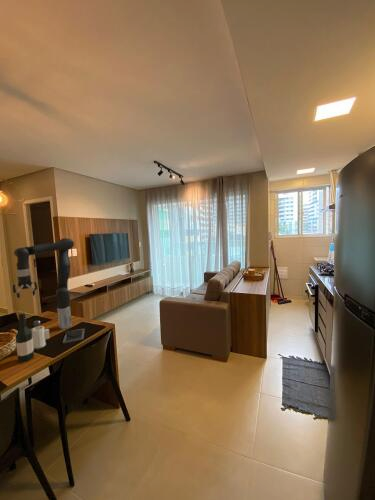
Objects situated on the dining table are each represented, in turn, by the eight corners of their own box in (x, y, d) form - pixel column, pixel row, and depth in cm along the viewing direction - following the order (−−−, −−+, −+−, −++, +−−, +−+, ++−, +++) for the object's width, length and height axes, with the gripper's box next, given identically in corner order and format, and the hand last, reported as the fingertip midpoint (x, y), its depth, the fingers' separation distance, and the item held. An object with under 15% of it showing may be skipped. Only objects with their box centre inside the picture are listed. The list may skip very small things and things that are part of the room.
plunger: (43, 336, 153) (41, 319, 152) (42, 339, 149) (41, 321, 148) (34, 338, 151) (32, 320, 150) (33, 341, 146) (31, 323, 145)
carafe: (50, 341, 157) (48, 324, 156) (49, 345, 150) (47, 328, 149) (33, 345, 152) (31, 327, 151) (32, 350, 145) (30, 332, 144)
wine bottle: (24, 355, 139) (19, 311, 137) (37, 354, 140) (32, 310, 137) (14, 363, 131) (9, 316, 128) (29, 362, 132) (24, 315, 129)
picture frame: (66, 333, 169) (62, 344, 152) (66, 331, 169) (62, 342, 152) (84, 330, 174) (83, 340, 157) (84, 327, 174) (83, 337, 157)
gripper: (36, 273, 162) (38, 293, 164) (12, 275, 155) (15, 297, 156) (35, 274, 156) (37, 296, 157) (10, 277, 148) (13, 299, 150)
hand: (26, 296), depth 157 cm, fingers open, 8 cm apart
